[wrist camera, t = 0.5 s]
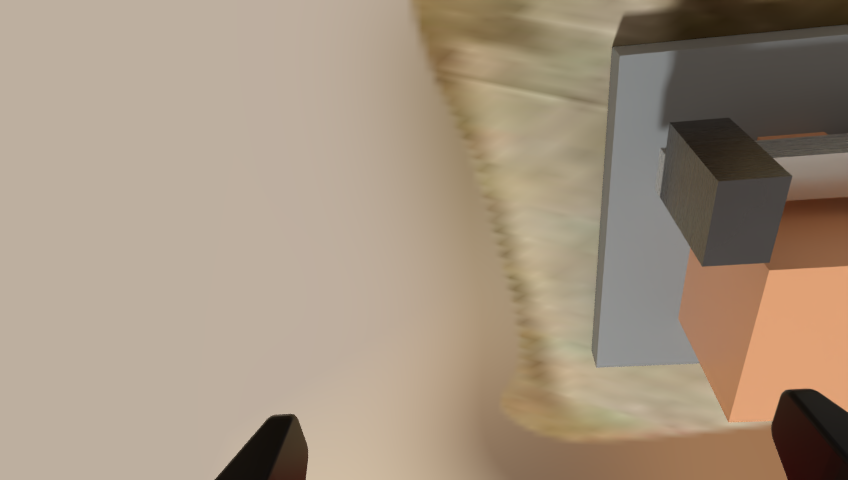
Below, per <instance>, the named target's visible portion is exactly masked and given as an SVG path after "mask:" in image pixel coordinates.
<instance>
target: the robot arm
mask: <svg viewBox="0 0 848 480" xmlns="http://www.w3.org/2000/svg"><path fill="white" fill-rule="evenodd" d="M771 431H772V437H773V440H774V443H775V446H776V449H777V451H778V454H779V457H780V460H781V462H782V465H783V468H784V470H785V473H786V476H787V479H788V480H848V412H847V411H846V410H844V409H843V408H841V407H840V406H838V405H837V404H836V403H834V402H833V401H831V400H830V399H828V398H827V397H825V396H824V395H823V394H821V393H820V392H818V391H816V390H814V389H807V388H806V389H788V390H785V391H784V392H783V393H782V394H781V396H780V399H779V402H778V405H777V408H776V411H775V415H774V418H773V421H772V426H771ZM307 463H308V447H307V443H306V440H305V437H304V435H303V432H302V429H301V426H300V423H299V421H298V419H297V417H296V416H295V415H294V414H282V415H273V416H271V417H269V418H268V419H267V420H266V421H265V422H264V424H263V425H262V426H261V427H260V428H259V429H258V430H257V432H256V433H255V434H254V435H253V436H252V437H251V438H250V440H249V441H248V442H247V443H246V444H245V445H244V447H243V448H242V449H241V450H240V451H239V452H238V454H237V455H236V456H235V457H234V458H233V459H232V460H231V462H230V463H229V464H228V465H227V466H226V467H225V469H224V470H223V471H222V472H221V473H220V474H219V475H218V477H217V478H216V479H215V480H306V471H307Z"/></svg>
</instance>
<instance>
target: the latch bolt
mask: <svg viewBox="0 0 848 480" xmlns="http://www.w3.org/2000/svg"><path fill="white" fill-rule="evenodd" d="M655 190H656V192H657V194H658V195H659V197H660V198H661V200H662V202H663V203H664V205H665V207H666V208H667V210H668V212H669V213H670V215H671V216H672V218H673V220H674V221H675V223H676V225H677V226H678V228H679V230H680V231H681V233H682V234H683V236H684V238H685V239H686V241H687V243H688V244H689V246H690V248H691V249H692V251H693V252H694V254H695V256H696V257H697V259H698V261H699V262H700V264H701V266H702V267H706V266H723V265H741V264H758V263H770V259H771V255H772V251H773V248H774V244H775V240H776V236H777V233H778V229H779V225H780V221H781V218H782V214H783V210H784V206H785V203H786V201H791V200H806V199H820V198H835V197H848V133H846V134H833V135H820V136H807V137H795V138H782V139H769V140H756V141H754V140H753V139H752V138H751V137H750V136H749V135H747V134H746V133H745V132H744V131H743V130H742V129H741V128H740V127H739V126H738V125H737V124H736V123H735V122H733V121H732V120H731V119H730V118H717V119H705V120H693V121H681V122H669V130H668V138H667V145H666V148H660V153H659V161H658V170H657V178H656V186H655Z"/></svg>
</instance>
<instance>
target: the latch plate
mask: <svg viewBox="0 0 848 480" xmlns="http://www.w3.org/2000/svg"><path fill="white" fill-rule="evenodd" d="M717 118H730V119H731V120H732V121H733V122H735V123H736V124H737V125H738V126H739V127H740V128H741V129H742V130H743V131H744V132H745V133H746V134H747V135H749V136H750V137H751V138H752V139H753V140H754V141H756V140H757V138H758V137H766V136H778V135H791V134H804V133H817V132H825V133H826V134H828V135H833V134H846V133H848V25H837V26H827V27H816V28H806V29H795V30H785V31H774V32H764V33H753V34H743V35H732V36H722V37H711V38H701V39H690V40H680V41H670V42H659V43H649V44H638V45H628V46H617V47H612V57H611V72H610V87H609V102H608V117H607V132H606V146H605V161H604V176H603V191H602V206H601V220H600V235H599V250H598V265H597V280H596V294H595V309H594V324H593V339H592V354H593V357H594V361H595V364H596V368H597V367H622V366H646V365H671V364H695V363H699V361H698V358H697V356H696V354H695V352H694V350H693V348H692V346H691V344H690V342H689V340H688V338H687V336H686V334H685V332H684V330H683V328H682V326H681V324H680V322H679V320H678V316H679V310H680V305H681V299H682V293H683V287H684V281H685V276H686V270H687V264H688V258H689V252H690V246H689V244H688V243H687V241H686V239H685V238H684V236H683V234H682V233H681V231H680V230H679V228H678V226H677V225H676V223H675V221H674V220H673V218H672V216H671V215H670V213H669V212H668V210H667V208H666V207H665V205H664V203H663V202H662V200H661V198H660V197H659V195H658V194H657V192H656V190H655V186H656V178H657V170H658V161H659V153H660V148H666V145H667V138H668V130H669V122H681V121H693V120H705V119H717Z"/></svg>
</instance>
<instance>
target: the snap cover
mask: <svg viewBox="0 0 848 480" xmlns="http://www.w3.org/2000/svg"><path fill="white" fill-rule="evenodd" d="M820 135H828V134H826V133H825V132H817V133H804V134H791V135H778V136H766V137H758V138H757V140H769V139H782V138H795V137H807V136H820ZM678 320H679V322H680V324H681V326H682V328H683V330H684V332H685V334H686V336H687V338H688V340H689V342H690V344H691V346H692V348H693V350H694V352H695V354H696V356H697V358H698V361H699V363H700V365H701V367H702V369H703V371H704V373H705V375H706V377H707V379H708V381H709V383H710V385H711V387H712V389H713V391H714V393H715V395H716V397H717V399H718V402H719V404H720V406H721V408H722V410H723V412H724V414H725V416H726V418H727V420H728V422H752V421H773V418H774V415H775V411H776V408H777V405H778V402H779V399H780V396H781V394H782V393H783V392H784V391H785V390H788V389H806V388H807V389H814V390H816V391H818V392H820V393H821V394H823V395H824V396H825V397H827V398H828V399H830V400H831V401H833V402H834V403H836V404H837V405H838V406H840V407H841V408H843V409H844V410H846V411H847V412H848V197H835V198H820V199H806V200H791V201H786V203H785V206H784V210H783V214H782V218H781V221H780V225H779V229H778V233H777V236H776V240H775V244H774V248H773V251H772V255H771V259H770V263H758V264H741V265H723V266H706V267H702V266H701V264H700V262H699V261H698V259H697V257H696V256H695V254H694V252H693V251H692V249H691V248H690V252H689V258H688V264H687V270H686V276H685V281H684V287H683V293H682V299H681V305H680V310H679V316H678Z"/></svg>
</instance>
